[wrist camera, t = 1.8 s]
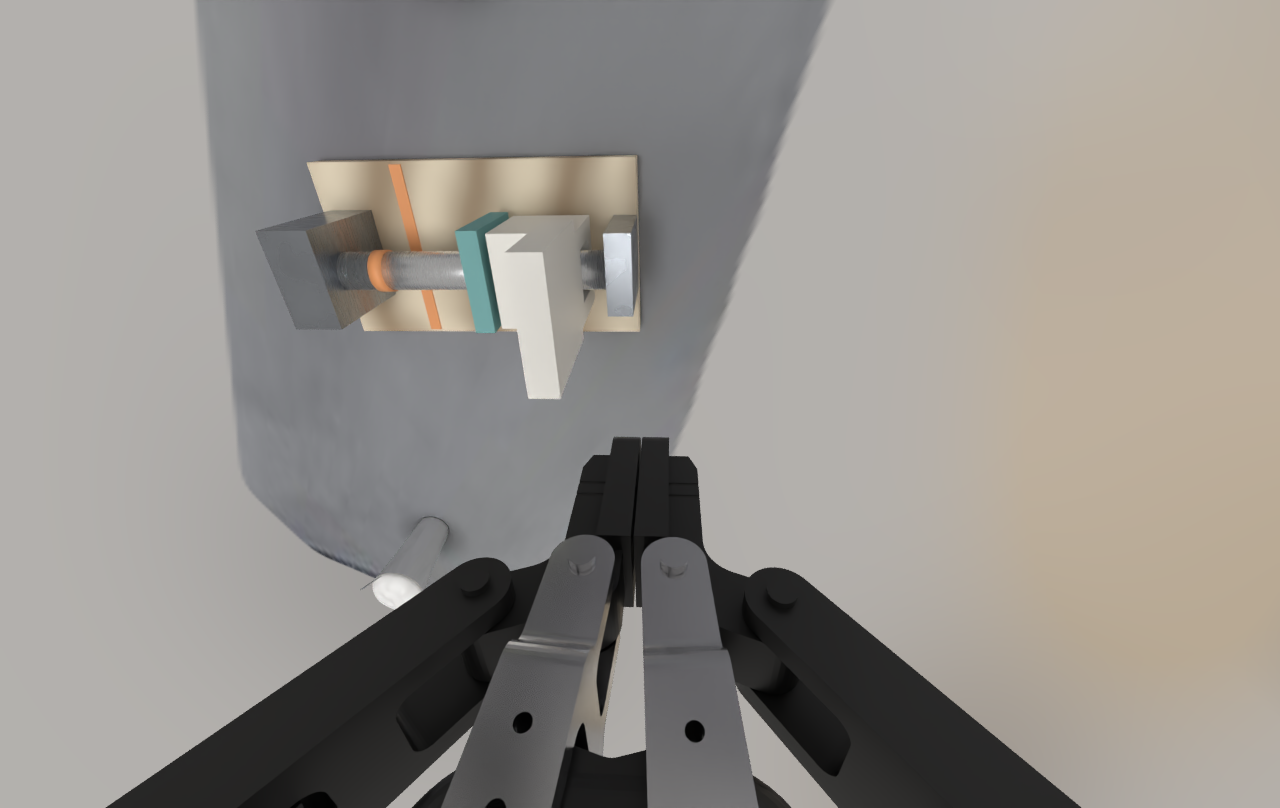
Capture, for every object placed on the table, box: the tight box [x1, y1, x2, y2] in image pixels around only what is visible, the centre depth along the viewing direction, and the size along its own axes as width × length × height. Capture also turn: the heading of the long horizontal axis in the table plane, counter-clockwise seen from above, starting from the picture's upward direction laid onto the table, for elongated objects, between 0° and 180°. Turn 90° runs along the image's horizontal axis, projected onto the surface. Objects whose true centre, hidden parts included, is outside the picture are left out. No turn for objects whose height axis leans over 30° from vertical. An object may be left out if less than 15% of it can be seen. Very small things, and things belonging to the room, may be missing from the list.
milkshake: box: [361, 517, 449, 609], centre depth 47 cm, size 4×5×10 cm
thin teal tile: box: [455, 212, 509, 333], centre depth 30 cm, size 1×6×6 cm, turn 1°
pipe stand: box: [255, 155, 641, 332], centre depth 32 cm, size 22×12×8 cm, turn 91°
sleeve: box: [485, 215, 595, 399], centre depth 27 cm, size 5×7×13 cm
